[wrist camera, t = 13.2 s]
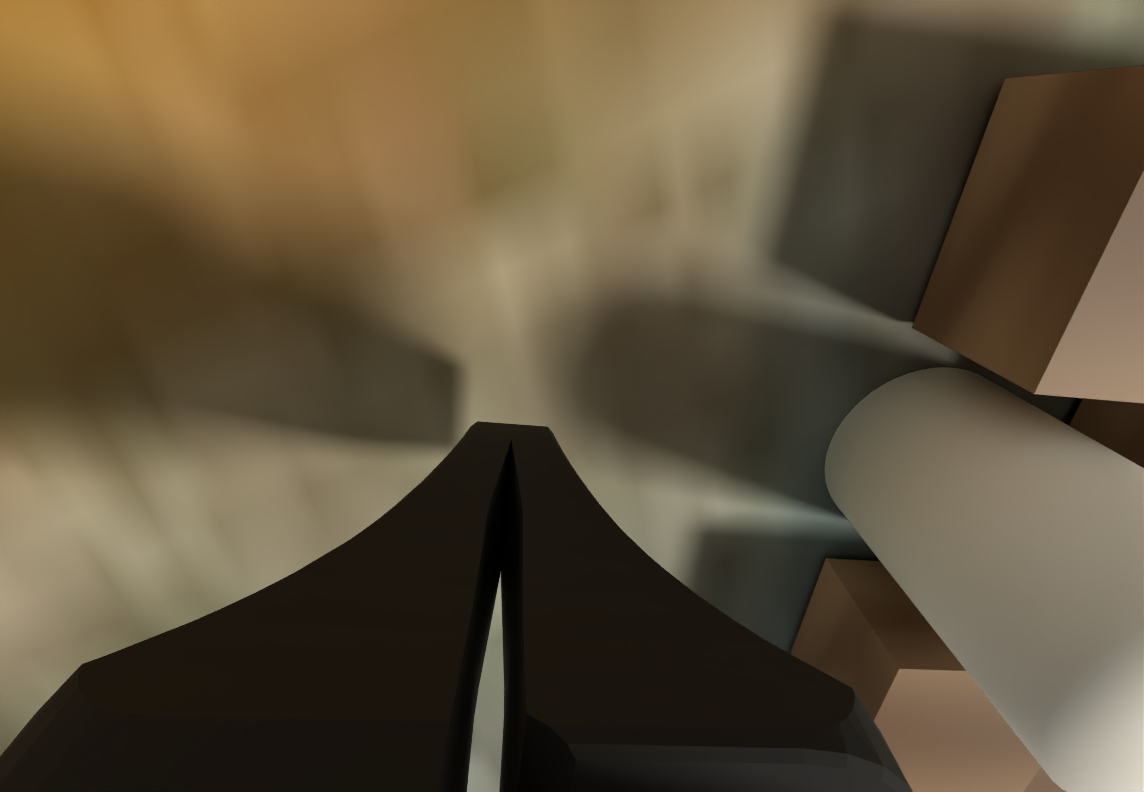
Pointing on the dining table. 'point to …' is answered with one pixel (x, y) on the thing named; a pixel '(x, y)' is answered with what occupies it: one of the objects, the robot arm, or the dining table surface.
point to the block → (1025, 357)
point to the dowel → (1011, 558)
